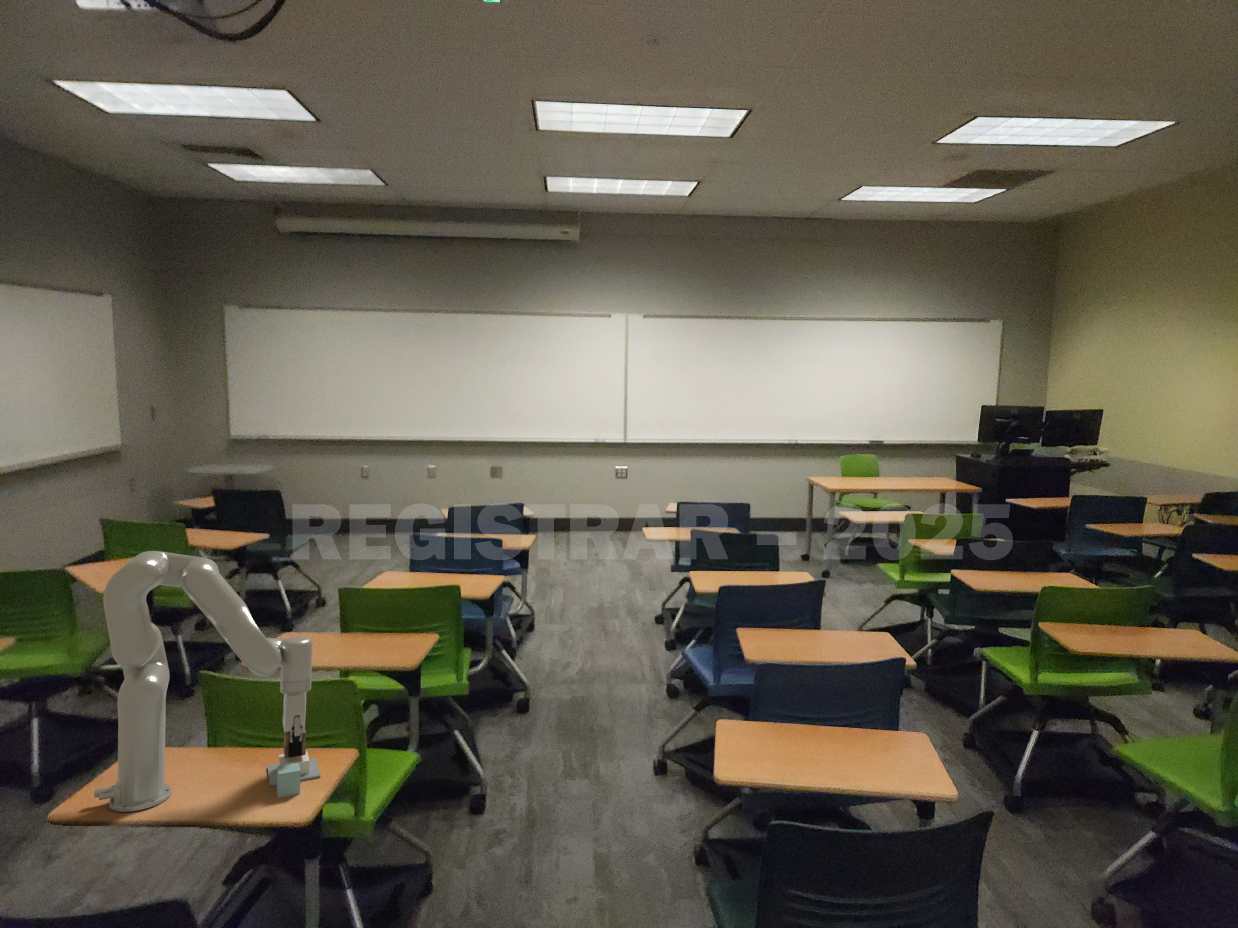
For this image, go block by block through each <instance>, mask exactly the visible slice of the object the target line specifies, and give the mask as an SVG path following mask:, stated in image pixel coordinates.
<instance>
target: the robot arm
mask: <svg viewBox="0 0 1238 928" xmlns="http://www.w3.org/2000/svg"><path fill="white" fill-rule="evenodd" d="M160 585H161V586H168V587H176V588H182V590H183V591H184V592H185V593H184V594H186V595H187V596H188V597H189V598H190V600H191V601H193V604H195V605H196V606H197V608H198V609H199V610H200V611H201V612H202V613H203V615H204V616H206V618H207V619H208V620H209V621H210V623H211V624H212V625H213V626H214V627H215V629H216V631H217V632H218V633H219V635H220V636H221V637H222V638H223V639H224V641H225V642H226V643H227V645H228V646H229V647H230V649H231V651H233V653H234V654H235V655H236V656H237V657H238V658H239V660H240V661H241V662H242V663H243V664H244V665H245V667H247V669H249V671H250V672H251V673H252V674H254V675H256V676H260V677H267V676H271V675H273V674H274V673H275V672H277V671H278V670H279V668H280V680H279V681H280V686H279V687H280V689H279V690H280V693H281V694H283V705H282V709H283V710H282V726H283V732H284V731H285V732H287V731H290V742H289V754H288V756H289V757H296V756H301V755H302V730H303V729H304V728H305V729H306V718H307V717H306V714H307V713H306V712H307V693H308V692H309V691H311V689H312V668H313V667H312V663H313V642H312V640H311V638H309V637H308V636H307V637H306V636H294V637H289V638H274V637H266V636H265V635H264V633H263V632H262V631H261V629H260V628H259V626H258V625H257V624H256V622H255V620H254V619H253V617H252V613H251V612H250V609H249V608H248V605H247V604H246V603H245V601H244V599H242V598H241V597H240V596H239V594H237V592H236V591H235V590H234V588H233V587H232V586H231V585H230V584H229V582H228V581H227V580H226V579H225V578H224V576H222V574H221V573H220V570H219V566H218V564H217V563H216V562H215V561H214V560H212V559H210V558H207V557H201V556H196V555H187V554H179V553H174V552H167V551H161V550H147V551H143V552H141V553H138V554H137V555H136V556H134V557H133V558H132V559H131V560H130V561H129V562H127V563H126V564H124V565H123V566H122V567H121V568H120V569H119V570H117V571H116V572H115V573H114V574H113V575H112V576H111V577H110V578H109V580H108V581H107V584H106V585H105V589H104V590H103V600H102V601H103V602H102V603H103V608H104V614H105V619H106V626H107V631H108V637H109V642H110V647H111V655H112V659H114V661H115V662H116V663H117V665H119V666H120V667H122V672H123V677H124V679H123V681H122V683H121V685H120V688H119V691H118V694H117V703H116V704H117V720H118V723H117V724H118V728H117V731H118V732H117V733H118V734H117V741H118V745H117V749H118V750H117V781H116V783H115V784H113V785H110V786H108V787H101V788H95V789H94V797H93V798H96V799H97V798H98V800H99V801H103V800H108V799H109V800H108V807H109V809H110V810H112V811H114V812H119V813H126V812H127V813H129V812H136V811H142V810H146V809H148V808H152V807H155V806H158V805H159V804H161V803H163V802H164V801H166V800H167V799H168V798H170V796H171V795H172V787H171V785H168V784H166V783H165V763H166V762H165V761H166V760H165V759H166V702H167V701H166V699H167V691H168V688H169V687H168V685H169V682H170V677H171V676H170V669H169V663H168V659H167V655H166V648H165V645H164V644H165V643H164V639H163V635H162V633H161V632H162V631H161V630H160V628H159V627H158V626H157V625H156V624H155V623H153V622H151V621H152V620H151V617H150V609H149V605H148V603H147V596H148V594H149V593H150V591H152V590H153V589H155V588H156V587H158V586H160ZM292 728H294V730H292ZM293 732H294V734H293V736H292V733H293Z"/></svg>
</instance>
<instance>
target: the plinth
mask: <svg viewBox="0 0 1238 928" xmlns="http://www.w3.org/2000/svg"><path fill="white" fill-rule="evenodd" d="M298 762H299V766H300V782H303V781H309V780H314V779H319V778H321V773H320V768H319V765H318V761H317V758H316V757H315V756H314V757H311V758H310V756H309V753H308V750H307V749H306V755H302V756H297V757H291V758H285V756H284V753H282V754H279V755H278V763H276V764H269V765H267V774H268V783H269V784H268V785H269V788H270V787H277V766H280V765H286V764H292V763H298Z"/></svg>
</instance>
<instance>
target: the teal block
mask: <svg viewBox="0 0 1238 928" xmlns="http://www.w3.org/2000/svg"><path fill="white" fill-rule="evenodd" d="M300 794H301V781H300V766H299V762H298V763H292V764H286V765H280V766H277V786H276V795H277V798H278V799H279V798H284V797H290V796H296V795H300Z"/></svg>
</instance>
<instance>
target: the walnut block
mask: <svg viewBox="0 0 1238 928" xmlns="http://www.w3.org/2000/svg"><path fill="white" fill-rule="evenodd" d="M292 730H294V728H292ZM293 734H294V732H293V733H292V736H293ZM289 742H290V731H287V732H285V731H284V730H283V754H284V756H285V758H291V757H289V756H288V754H289ZM306 750H307V730H306V727H305V728H304V729H303V730H302V755H306ZM302 755H301V756H302ZM296 757H297V756H296Z"/></svg>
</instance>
